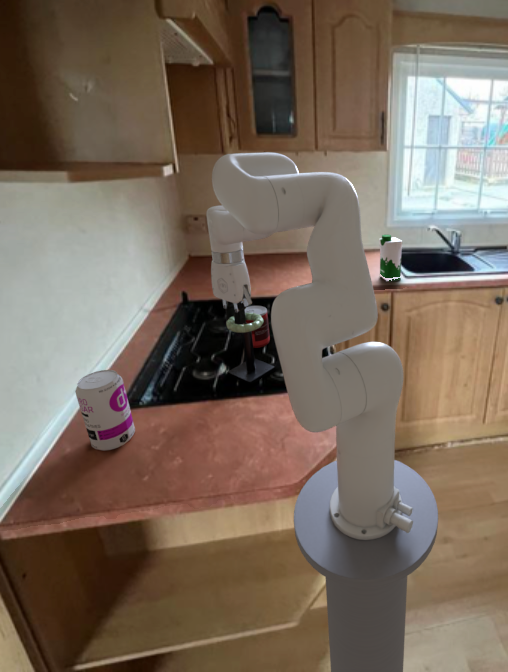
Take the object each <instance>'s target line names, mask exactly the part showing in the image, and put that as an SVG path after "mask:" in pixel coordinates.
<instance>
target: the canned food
mask: <svg viewBox="0 0 508 672" xmlns="http://www.w3.org/2000/svg"><path fill="white" fill-rule="evenodd" d="M245 313H256V314H259V315H261V316H262V318H263V320H264V322H263V324H262V325H261V327H260V328H258V329H256V330H254V331H252V339H253V348H254V349H258V348H263V347H265V346H267V345H268V344H269V343H270V340H271V337H270V336H271V335H270V327H269V316H268V309H267V308H266V306H262V305H249V306H247V307H246V309H245ZM252 322H254V321H253V320H246V322H245V323H243V324H241V325H244V324H249V323H252Z"/></svg>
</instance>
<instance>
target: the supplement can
mask: <svg viewBox="0 0 508 672" xmlns="http://www.w3.org/2000/svg"><path fill="white" fill-rule="evenodd" d="M75 396H76V399H77V403H78V407H79V410H80V413H81V415H82V419H83V422H84V426H85V429H86V433H87V436H88V439H89V442H90V445H91V447H92V448H93V449H95V450H99V451H111V450H115V449H117V448H120V447H122V446H124V445H125V444H127V443H128V442H129V441H131V439H132V437H133V436H134V435H135V432H136V426H135V423H134V419H133V416H132V411H131V406H130V403H129V400H128V395H127V390H126V388H125V383H124V379H123V377H122V375H120V374H118V372H117V371H116V370H114V369H101V370H97V371H93V372H91V373H89V374H86V375H84V376H83V377H81V378H80V379H78V381H77V383H76V388H75Z"/></svg>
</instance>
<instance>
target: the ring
mask: <svg viewBox="0 0 508 672" xmlns="http://www.w3.org/2000/svg"><path fill="white" fill-rule="evenodd" d="M245 316H246V320H253V321H254V322H252V323H249V324H244V325H242V324H241V325H240V324H235V320H234V316H232V317H230V318H229V319H228V321H227V320H226V321H225V325H226V328H227V329H228V330H229V331H230V332H234V333H241V334H242V333H245V332H250V331H254V330H256V329H258V328H260V327H261V325H262V324H263V322H264V320H263V318H262V316H261V315H259V314H256V313H245Z"/></svg>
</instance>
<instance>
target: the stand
mask: <svg viewBox="0 0 508 672" xmlns="http://www.w3.org/2000/svg"><path fill="white" fill-rule="evenodd" d="M241 335H242V342H243V343H242V344H243V353H244V357H245V358H244V359H245V361H244V362H242V363H240V364H238V365H237V366H235V367H233V368H231V369H230V370H228V371H226V374H227V377H230V378H232V379H234V380H235V381H239V382H241V383H243V384H245V385H247V386H250V387H252V386H253V385H254V384H256V383H258V382H259V381H261V380H263V379H264V378H265V377H267V376H268V375H271V374H272V373H273V372H276V366H274V365H272V364H269V363H268V362H264V361H262V360H259V359H257V358H256V357H255V350H254V349H255V348H253V339H252V331H250V332H245V333H242V332H241Z"/></svg>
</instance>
